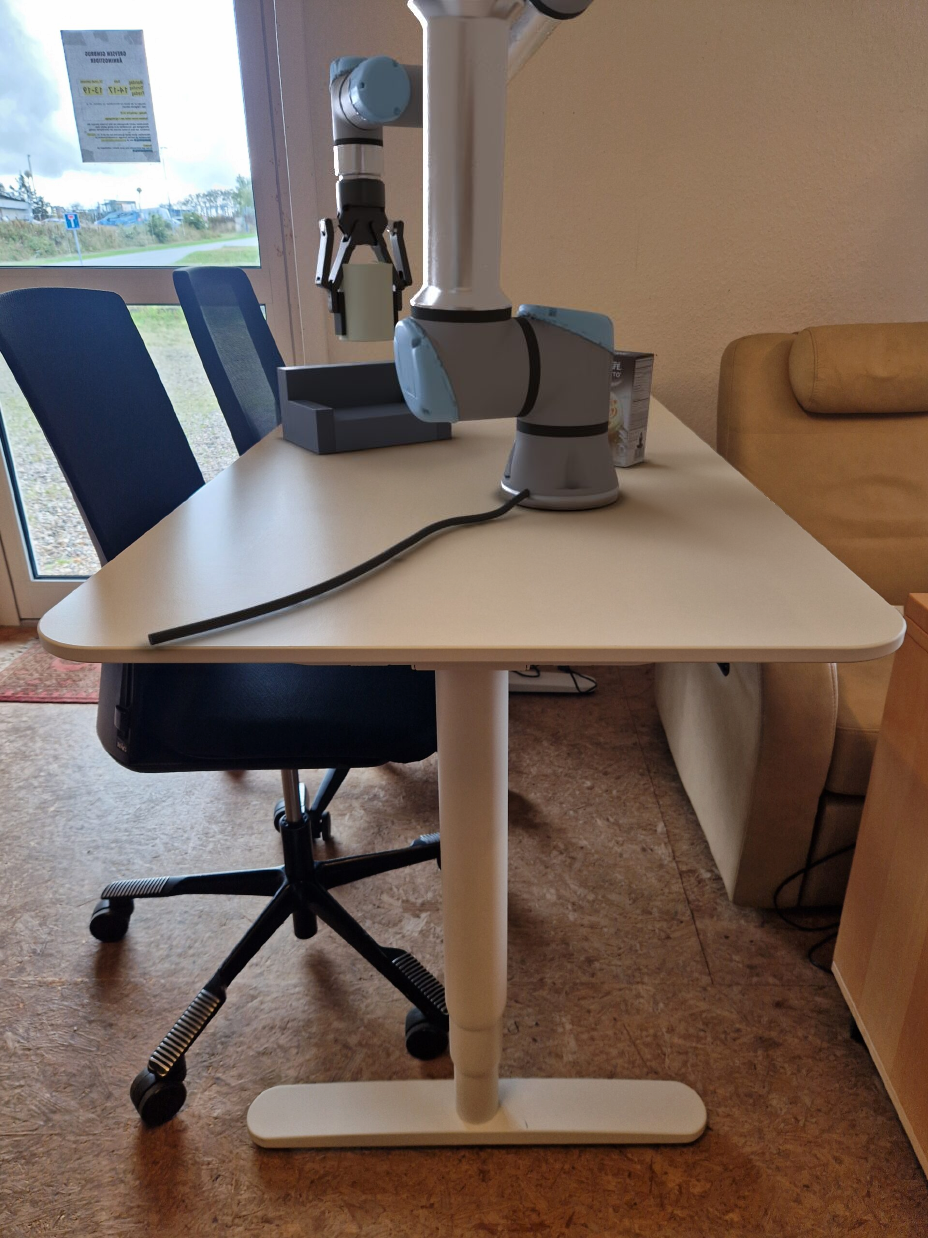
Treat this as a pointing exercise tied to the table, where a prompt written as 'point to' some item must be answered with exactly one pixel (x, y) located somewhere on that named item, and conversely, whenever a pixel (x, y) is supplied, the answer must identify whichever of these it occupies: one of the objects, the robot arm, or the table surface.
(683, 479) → the table surface
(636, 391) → the coffee box
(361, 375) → the couch
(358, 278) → the can
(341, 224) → the robot arm
